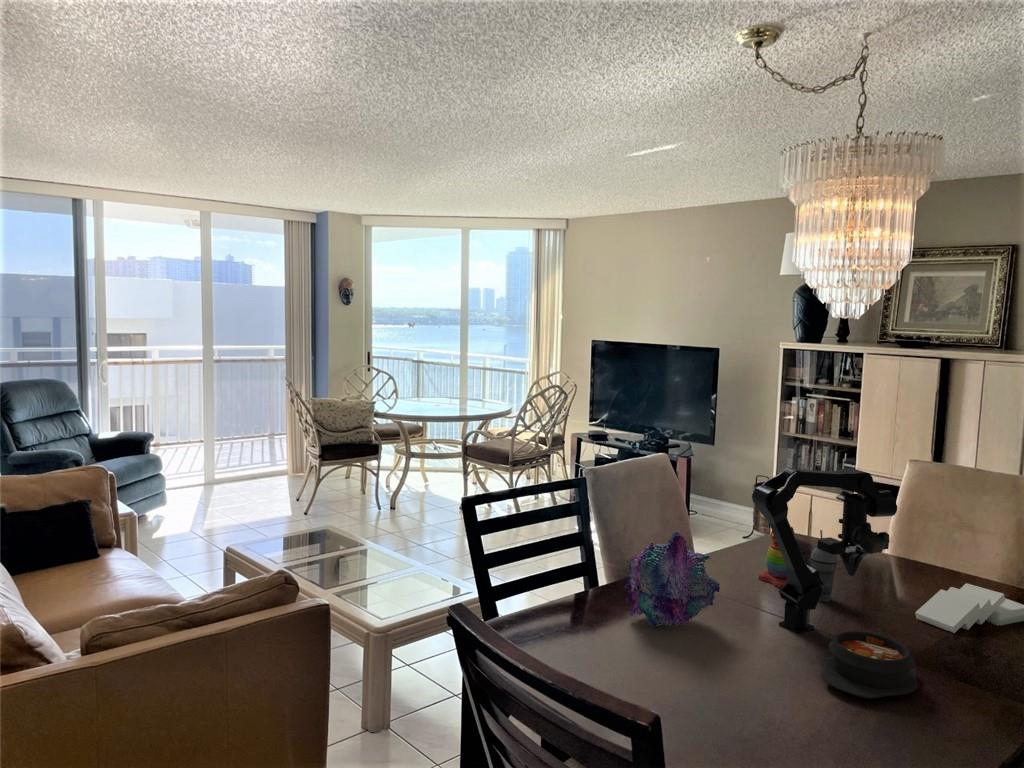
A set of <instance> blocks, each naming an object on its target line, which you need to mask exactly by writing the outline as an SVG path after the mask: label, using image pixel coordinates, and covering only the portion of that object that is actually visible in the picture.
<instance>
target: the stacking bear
mask: <svg viewBox="0 0 1024 768" xmlns="http://www.w3.org/2000/svg"><path fill="white" fill-rule="evenodd" d="M790 527H791V529H792V531H793V534H794V536H795V537H796V535H795V529H794V528H793V526H790ZM770 538H771V540H772V542H771V543H770V545H769V546H768V549H767V553H766V559H765V561H766V566H767V571H763V572H760V573H759V574H758V580H760V581H762V580H763V582H766V581H767V583H770V584H772V585H773V586H774V587H775V586H776V587H775V588H778V589H781V588H782V587H783V586H784V585H785V584H786V583H787V582H788V581H787V577H786V575H787V565H786V563H785V560H784V558H783V556H782V553H781V551H780V548H779V546H778V544H777V541H776V539H775V536H774V534H773V532H772V530H771V532H770Z"/></svg>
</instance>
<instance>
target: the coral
mask: <svg viewBox="0 0 1024 768" xmlns="http://www.w3.org/2000/svg"><path fill="white" fill-rule="evenodd" d="M710 558H711V556H710V554H707V553H706V554H703V553H701V552H695V551H693V552H692V550H689V549H688V547H687V539H685V537H684V535H683V534H682V532H680V531H677V530H676V531H674V532H673V533H671V536H670V537H669V539H668V541H667V542H666V543H660V544H659V543H656V544H655V545H654V542H650V544H649V545H648V547H644V549H643V550H642V551H641V552H640V554H635V555H634V556H633V557H631V559H630V561H629V564H628V565H629V569H628V570H629V571H628V575H627V581H626V585H625V586H623V589H625V590H628V591H627V597H626V598H625V602H626V603H629V601H630V602H635V603H634V604H633V606H631V608H630V609H629V610H628V614H629V615H630V617H633V616H635V613H636V614H637V615H638V616H642V614H644V616H645V617H646V621H647V622H648V623H647V624H648V625H649V626H650V627H653V628H656V627H659V626H665V627H672V626H673V625H675V626H678V625H681V624H683V623H689V621H690V620H692V619H693V618H695V617H696V616H698V615H699V613H700V612H701V611H702V609H703V610H704V609H705V610H706V608H707V607H709V606H713V605H714V601H715V598H716V596H715V593H716V592H717V593H720V592H721V591H720V588H721V586H720V585H721V583H720V582H718V581H717V580H716V579H715V578H713V577H709V574H707V573H708V572H707V571H706V566H705V563H706V561H708V560H709V559H710ZM659 624H660V625H659Z"/></svg>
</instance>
